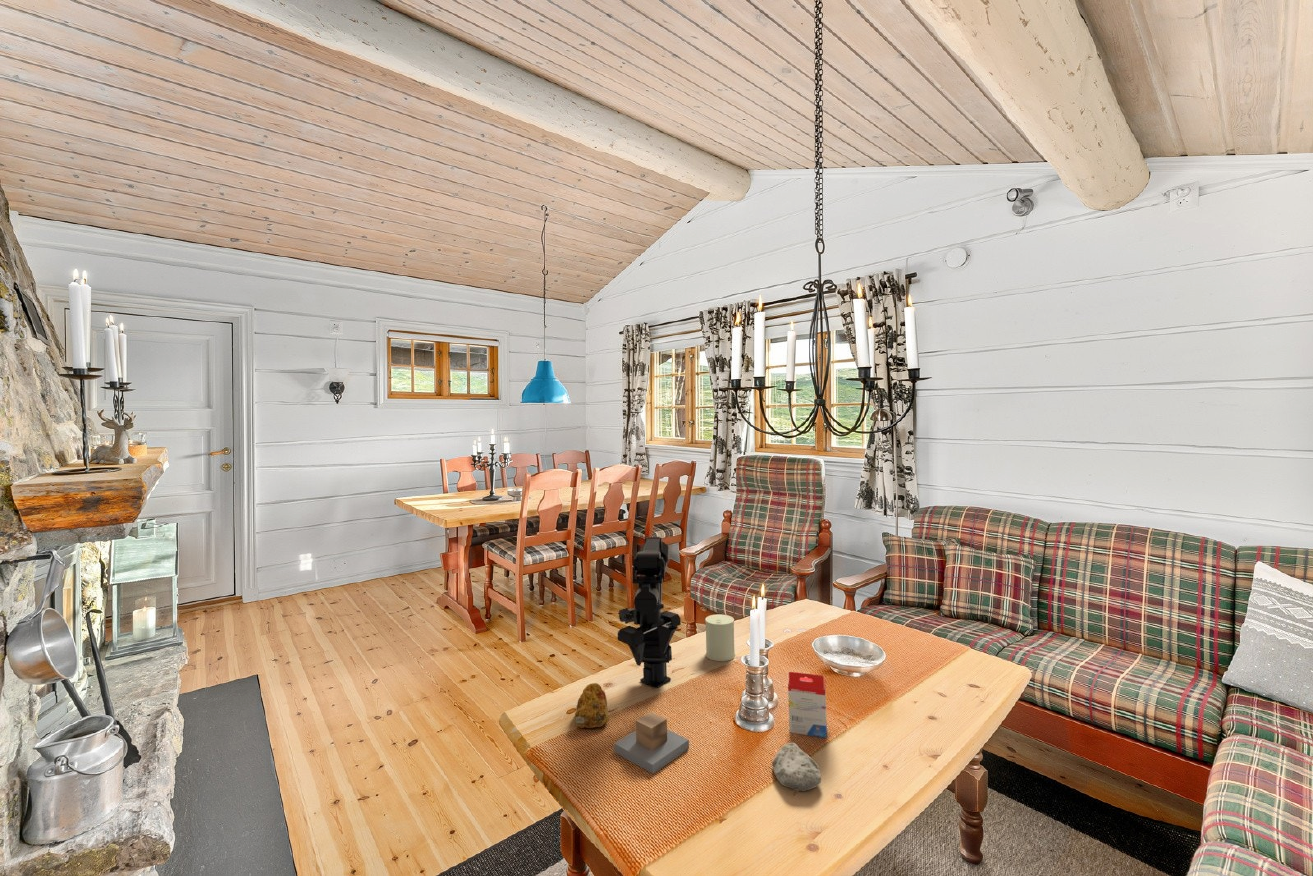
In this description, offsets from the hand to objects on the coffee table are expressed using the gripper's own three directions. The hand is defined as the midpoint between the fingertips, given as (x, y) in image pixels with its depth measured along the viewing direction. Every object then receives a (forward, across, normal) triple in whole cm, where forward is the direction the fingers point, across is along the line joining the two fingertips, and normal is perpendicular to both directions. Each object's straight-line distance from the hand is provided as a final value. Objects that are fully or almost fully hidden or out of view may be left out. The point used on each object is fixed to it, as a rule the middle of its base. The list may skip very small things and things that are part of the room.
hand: (650, 659), depth 145 cm
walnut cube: (+10, +15, +14) cm, 23 cm away
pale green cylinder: (+12, -36, -4) cm, 38 cm away
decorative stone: (+12, +2, +43) cm, 45 cm away
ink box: (+12, -15, +37) cm, 42 cm away
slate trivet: (+12, +15, +14) cm, 24 cm away
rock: (+12, +15, -7) cm, 21 cm away
